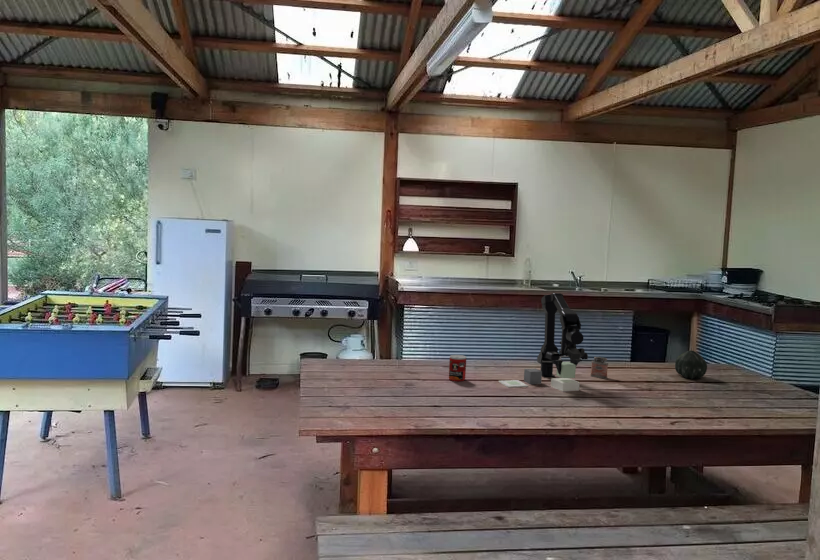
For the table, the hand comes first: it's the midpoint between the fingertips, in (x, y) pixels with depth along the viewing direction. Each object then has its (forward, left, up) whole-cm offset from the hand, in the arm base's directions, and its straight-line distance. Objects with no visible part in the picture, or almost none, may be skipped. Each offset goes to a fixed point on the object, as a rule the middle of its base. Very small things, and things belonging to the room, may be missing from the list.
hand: (565, 374), depth 291 cm
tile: (-10, -21, -6) cm, 24 cm away
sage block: (0, 0, -1) cm, 1 cm away
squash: (-11, +79, -7) cm, 80 cm away
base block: (0, 0, -7) cm, 7 cm away
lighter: (-18, +30, -7) cm, 36 cm away
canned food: (-22, -44, -7) cm, 50 cm away
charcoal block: (-12, -10, -7) cm, 17 cm away
